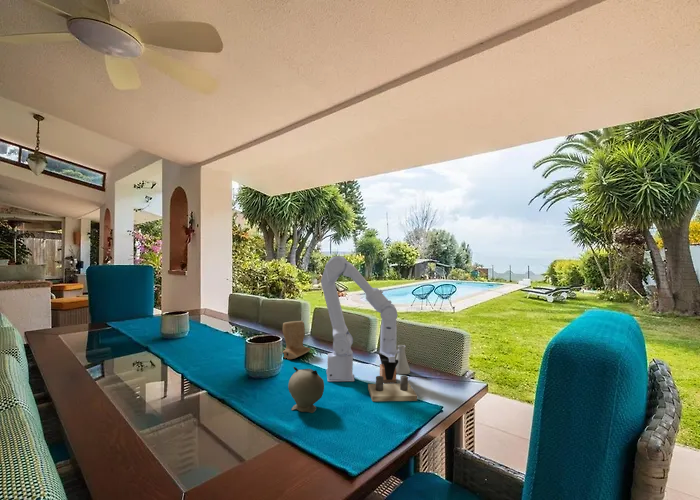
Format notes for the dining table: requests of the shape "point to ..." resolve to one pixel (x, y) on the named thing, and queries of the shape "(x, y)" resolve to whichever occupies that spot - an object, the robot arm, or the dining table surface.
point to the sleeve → (382, 373)
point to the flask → (402, 361)
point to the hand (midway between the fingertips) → (387, 376)
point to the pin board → (392, 390)
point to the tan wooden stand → (294, 339)
